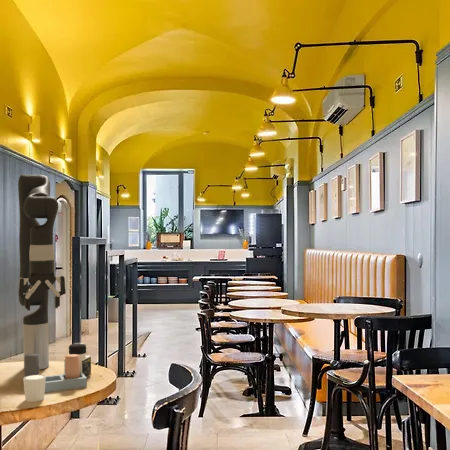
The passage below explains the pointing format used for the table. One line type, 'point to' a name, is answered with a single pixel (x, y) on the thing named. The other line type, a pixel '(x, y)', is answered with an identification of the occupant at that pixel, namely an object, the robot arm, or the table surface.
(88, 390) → the table surface
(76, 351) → the medicine bottle
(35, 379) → the white cup
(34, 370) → the dark gray block
